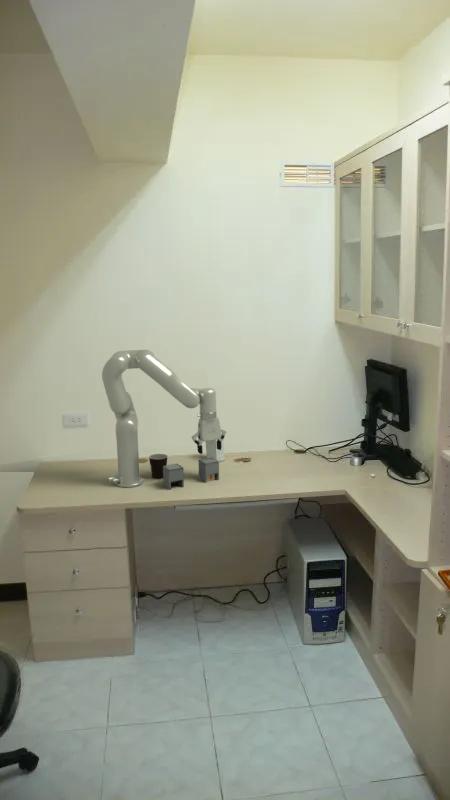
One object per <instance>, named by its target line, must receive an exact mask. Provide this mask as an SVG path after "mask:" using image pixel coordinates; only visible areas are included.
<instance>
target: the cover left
mask: <svg viewBox="0 0 450 800" xmlns="http://www.w3.org/2000/svg"><path fill="white" fill-rule="evenodd" d="M184 471H185V469H184V467H183V466H181V465H180V464H178V463H173V464H167V465H166V466H163V479H162V481H163V486H164V487H165V488H167V489H168V490H170V491H171V490H172V485H174V484H177V485H179V486H181V487H182V488H184V487H185V481H184V480H185V475H184Z"/></svg>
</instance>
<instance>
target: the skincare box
mask: <svg viewBox="0 0 450 800" xmlns="http://www.w3.org/2000/svg"><path fill="white" fill-rule="evenodd" d="M221 435H222V432H221ZM224 440H225V438H224V439H223V441H222V442H221V443H222V448H221V450H218V449H217V439H216V440H211V441H205V454H206V458H214V459H215V460H217V461H219V463H220V462H224V461H225V459H226V458H225V457H226V456H225V442H224Z"/></svg>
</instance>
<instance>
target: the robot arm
mask: <svg viewBox="0 0 450 800" xmlns="http://www.w3.org/2000/svg"><path fill="white" fill-rule="evenodd" d="M128 369H129V370H130V369H132V370H133V369H140V370H141V371H142V372H143V373H145V374H146V376H149V377H150V378H151V379H153V381H154V382H155V383H157V384H158V385H159V386H161V387H162V389H164V390H165V391H166V392H167V393H169V395H170V396H172V397H173V398H174V399H175V400H177V401H178V402H179V403H181V405H183V406H184V407H186V408H188V409H195V408H197V407H198V406H199V413H198V414H197V418H198V421H197V423H198V424H197V432H196V433H195V434H194V435H192V436H191V439H192V441H193V442H194V444H196V447H197V453H199V454H200V455H202V454H203V453H204V451H203V445H202V444H203V443H204V442H206V441H211V440H216V439H217V449H218V450H221V448H222V443H221V442H222V441H223V439H224V440H225V435H226V434H227V431H226V430H223V429H221V425H220V419H219V417H217V395H216V394H217V393H216V389H214V388H211V387H204V388H194V387H193V388H191V387H188V385H187V384H185V383H184V382H183V381H182V380H181V379H180V378H179V377H178V376H177V373H175V371H173V370H172V368H170V367H169V366H167V365H166V364H165V363H163V362H162V361H161V360H160V359H159V358H157V356H155V354H154V353H153V351H151V350H149V349H135V350H133V349H132V350H118V351H116V352H114V353H113V354H112V356H111V357H110V358H109V359H108V360H107V361H106V362H105V364H104V366H103V367H102V372H101V378H102V379H101V380H102V383H103V387H104V390H105V395H106V396H107V397H106V398H107V401H108V403H109V405H108V406H109V408H110V410H111V411H112V412H113V413H114V416H115V419H116V423H115V437H116V452H117V470H118V471H117V473H116V475H114V476H110V477H107V481H108V482H110V483H111V482H112V483H115V486H118V487H121V488H134V487H138V486H140V485H142V484H144V479H143V477H140V457H139V439H138V438H139V437H138V433H139V432H138V431H139V429H138V427H139V426H138V425H139V419H138V415H137V413H136V410H135V406H134V402H133V399H132V397H131V394H130V393H129V392H128V391H126V387H125V383H124V380H123V373H124V372H126V371H127V370H128ZM221 432H222V435H221ZM197 439H198V440H197Z"/></svg>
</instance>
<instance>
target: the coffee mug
mask: <svg viewBox="0 0 450 800" xmlns="http://www.w3.org/2000/svg"><path fill="white" fill-rule="evenodd" d="M148 459H149V460H148V461H149V466H150V473H151V478H153V479H154V480H163V466H166V465H168V454H164V453H156V454H151V455H149V456H148Z"/></svg>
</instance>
